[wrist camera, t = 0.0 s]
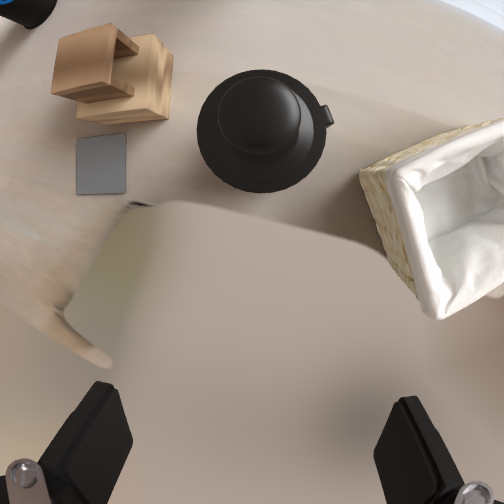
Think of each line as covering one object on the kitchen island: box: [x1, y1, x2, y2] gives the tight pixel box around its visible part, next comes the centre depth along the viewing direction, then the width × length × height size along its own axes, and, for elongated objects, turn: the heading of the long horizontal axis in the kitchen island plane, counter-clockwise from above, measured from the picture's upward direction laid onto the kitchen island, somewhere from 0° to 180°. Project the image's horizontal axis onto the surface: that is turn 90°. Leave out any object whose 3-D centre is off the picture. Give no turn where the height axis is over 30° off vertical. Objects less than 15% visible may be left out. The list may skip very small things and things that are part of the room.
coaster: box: [77, 133, 126, 195], centre depth 37 cm, size 8×8×1 cm
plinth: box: [76, 34, 173, 125], centre depth 31 cm, size 9×9×8 cm
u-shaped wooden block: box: [51, 23, 139, 104], centre depth 24 cm, size 6×6×7 cm
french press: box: [197, 69, 334, 193], centre depth 25 cm, size 12×9×23 cm
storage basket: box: [358, 118, 504, 320], centre depth 29 cm, size 24×16×15 cm
